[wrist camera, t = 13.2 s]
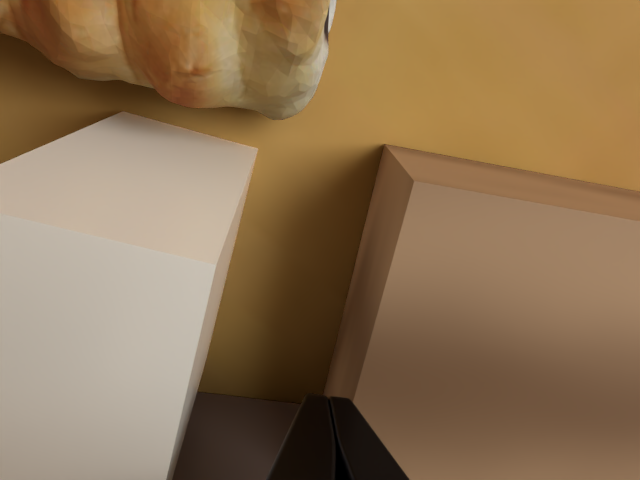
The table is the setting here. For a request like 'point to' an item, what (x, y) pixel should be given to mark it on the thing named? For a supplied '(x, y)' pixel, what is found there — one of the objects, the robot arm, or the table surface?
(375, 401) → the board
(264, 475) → the frame
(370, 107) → the table surface
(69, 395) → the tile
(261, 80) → the pastry
